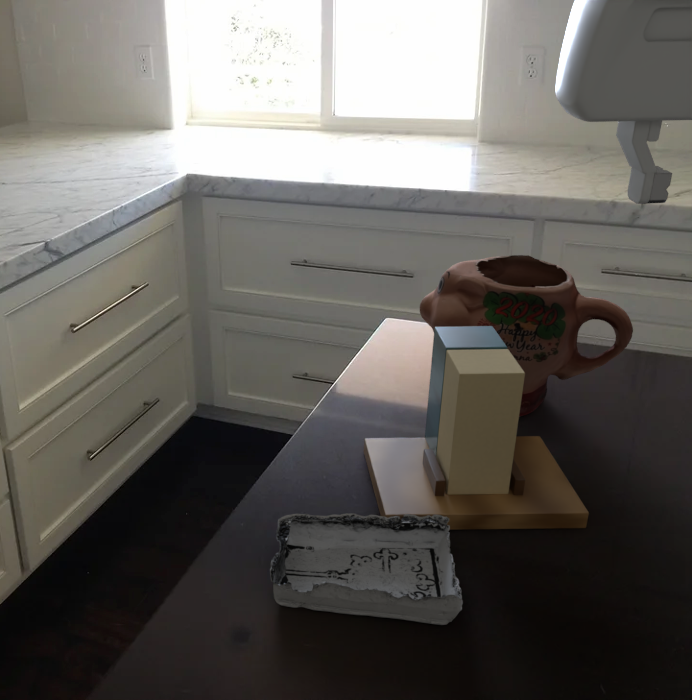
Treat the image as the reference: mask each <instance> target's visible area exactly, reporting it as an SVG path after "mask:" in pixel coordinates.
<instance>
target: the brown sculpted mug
mask: <svg viewBox="0 0 692 700" xmlns="http://www.w3.org/2000/svg"><path fill="white" fill-rule="evenodd" d="M419 315H420V317H421V318H422V319H423V321H424V322H425V323H426V324H427V325H428V326H429V327H430V328H431V330H432V332H433V333H434V329H435V327H459V326H493V328H494V329H495V330H496V332H497V333H498V335H499V336H500V338H501V339H502V340H503V342H504V343H505V345H506V346H507V349H508V350H509V351H510V353H511V354H512V355H513V357H514V358H515V360H516V361H517V363H518V364H519V365H520V367H521V368H522V370H523V371H524V372H525V377H524V384H523V392H522V399H521V406H520V413H519V418H520V417H523V416H527V415H529V414H531V413H533V412H534V411H535V410H537V408H538V407H539V406H540V405H541V404H542V403H543V402H544V400H545V398H546V396H547V392H548V388H547V386H548V380H549V379H548V378H549V376H555V377H556V378H557V379H559V380H561V381H565V380H568V379H570V378H574V377H576V376H579V375H583V374H587V373H589V372H592V371H594V370H595V369H598V368H600V367H603V366H604V365H606V364H607V363H608V362H609V361H611V360H613V359H615V358H616V357H617V356H619V355H620V354H622V353H623V352H624V350H625V349H626V348H627V347H628V345H629V344H630V342H631V340H632V337H633V333H634V327H633V323H632V321H631V318H630V316H629V315H628V313H627V311H625V309H623V308H622V307H621V306H620V305H618V304H616V303H614V302H612V301H610V300H607V299H604V298H599V297H594V296H584V295H582V294H581V292H579V290H578V288H577V286H576V283H575V279H574V277H573V275H572V273H570V272H569V271H568V270H566V269H564V268H562V267H561V266H560V265H557V264H556V263H555V264H554V263H551V262H548V261H545V260H541V259H538V258H535V257H533V256H531V255H525V254H518V255H517V254H516V255H515V254H514V255H512V254H511V255H500V256H489V257H485V258H481V259H470V260H464V261H463V260H462V261H460V262H457V263H455V264H453V265H451V266H450V267H448V268H447V269H446V270H445V271H444V272H443V274H442V275H441V276H440V279H439V282H438V284H437V286H436V287H435V289H433V291H431V292H429V293H427V294H426V295H425V296H424V297H422V299H421V301H420V304H419ZM592 320H597V321H598V320H599V321H603V322H605V323H607V324H608V325H610V327H611V328H612V329H613V332H614V335H615V340H614V344H613V345H611V347H609V348H608V349H607V350H605V351H603V352H601V353H600V354H598V355H595V356H586V355H583V354H581V353H580V352H579V349H578V336H579V331H580V329H581V327H582V326H583V324H585V323H587V322H588V321H592Z"/></svg>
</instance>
